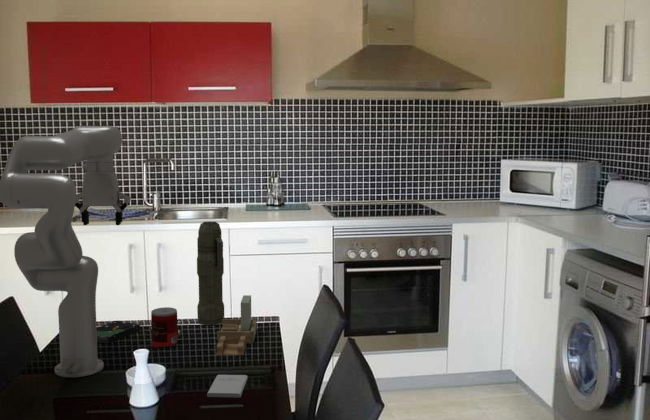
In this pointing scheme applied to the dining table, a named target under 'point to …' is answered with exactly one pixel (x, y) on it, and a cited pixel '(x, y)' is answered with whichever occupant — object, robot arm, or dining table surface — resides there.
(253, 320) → the rack
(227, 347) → the stand
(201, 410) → the dining table surface
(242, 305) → the grey-green flat slab
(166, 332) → the canned food
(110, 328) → the disk drive
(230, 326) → the offcut
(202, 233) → the thermos
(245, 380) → the external hard drive
